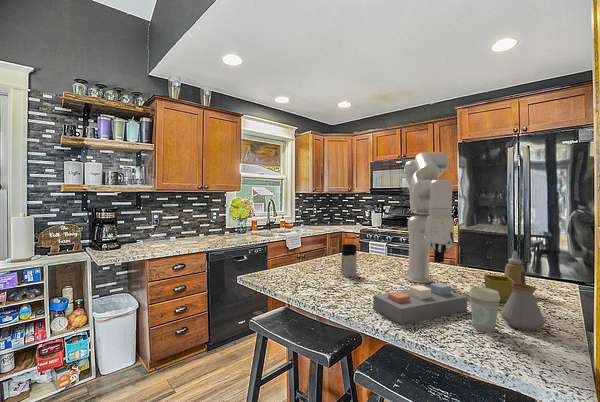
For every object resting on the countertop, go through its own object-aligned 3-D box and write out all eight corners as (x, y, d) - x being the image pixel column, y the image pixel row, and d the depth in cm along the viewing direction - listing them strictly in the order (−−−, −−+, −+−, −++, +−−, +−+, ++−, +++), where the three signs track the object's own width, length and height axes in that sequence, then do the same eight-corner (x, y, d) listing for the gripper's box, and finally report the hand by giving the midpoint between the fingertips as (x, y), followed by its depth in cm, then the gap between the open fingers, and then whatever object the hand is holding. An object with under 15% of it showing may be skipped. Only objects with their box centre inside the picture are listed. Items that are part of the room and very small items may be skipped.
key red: (388, 307, 106) (388, 293, 105) (399, 305, 108) (399, 291, 107) (398, 312, 101) (398, 297, 101) (409, 310, 103) (409, 296, 103)
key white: (409, 300, 110) (410, 286, 109) (419, 298, 112) (420, 285, 112) (420, 304, 105) (420, 290, 105) (430, 303, 107) (431, 289, 107)
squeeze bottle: (529, 296, 126) (530, 253, 126) (508, 294, 128) (509, 252, 127) (519, 290, 134) (520, 250, 134) (499, 288, 136) (500, 249, 135)
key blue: (429, 296, 114) (430, 283, 114) (439, 295, 116) (439, 282, 116) (440, 301, 109) (441, 287, 109) (450, 299, 111) (450, 286, 111)
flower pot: (507, 298, 123) (508, 276, 123) (515, 305, 115) (515, 282, 114) (483, 295, 126) (483, 274, 126) (488, 302, 117) (489, 279, 117)
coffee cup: (462, 322, 98) (463, 286, 98) (486, 322, 98) (487, 286, 98) (479, 335, 89) (481, 295, 89) (506, 334, 90) (507, 294, 90)
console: (373, 308, 108) (373, 295, 108) (435, 298, 121) (435, 286, 121) (400, 324, 96) (400, 308, 96) (466, 310, 108) (467, 297, 108)
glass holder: (358, 276, 153) (359, 246, 152) (330, 275, 153) (331, 246, 153) (355, 271, 161) (356, 244, 161) (329, 271, 162) (329, 243, 161)
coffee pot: (545, 337, 88) (547, 287, 88) (499, 326, 95) (500, 280, 95) (542, 315, 105) (543, 273, 105) (502, 307, 112) (504, 267, 112)
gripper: (417, 211, 117) (416, 258, 117) (450, 214, 103) (448, 267, 104) (431, 211, 120) (430, 257, 120) (465, 214, 106) (463, 265, 106)
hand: (438, 261), depth 112 cm, fingers closed
